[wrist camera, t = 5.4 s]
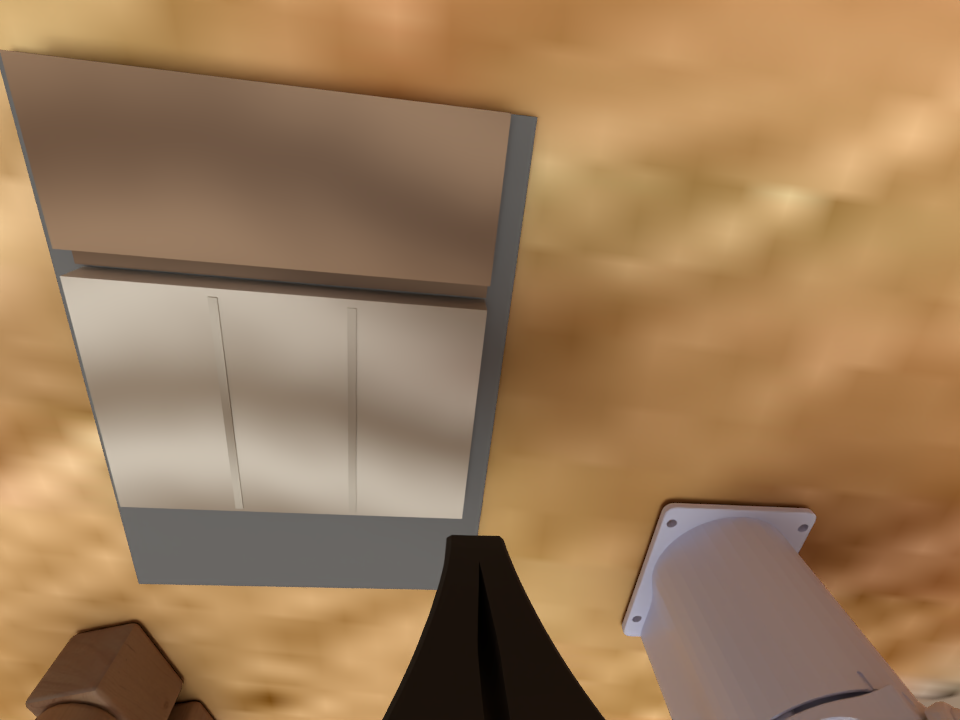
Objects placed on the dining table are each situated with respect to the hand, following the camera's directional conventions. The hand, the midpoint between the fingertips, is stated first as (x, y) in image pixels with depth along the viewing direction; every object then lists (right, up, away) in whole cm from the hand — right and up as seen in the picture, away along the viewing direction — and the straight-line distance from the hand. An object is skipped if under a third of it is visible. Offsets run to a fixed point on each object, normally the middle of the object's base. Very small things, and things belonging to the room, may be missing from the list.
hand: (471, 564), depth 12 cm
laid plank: (-6, +11, +4) cm, 14 cm away
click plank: (-7, +4, +7) cm, 11 cm away
